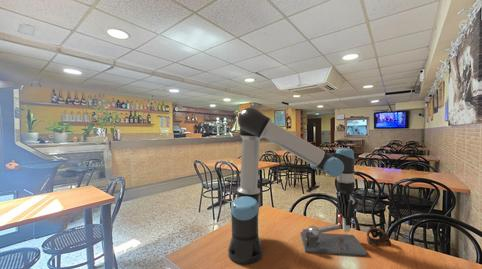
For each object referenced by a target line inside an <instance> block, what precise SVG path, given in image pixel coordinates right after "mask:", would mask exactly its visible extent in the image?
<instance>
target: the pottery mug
mask: <svg viewBox="0 0 482 269" xmlns="http://www.w3.org/2000/svg"><path fill="white" fill-rule="evenodd" d="M370 234H371V236H370ZM366 237H367V238H366V241H367V244H368V245H369V244H371V245H374V246H378V245H387V243H388V244H389V246H391V247H392V242H391V240H390V237H389V234H388V233H387V232H385V231H384V230H383V229H381V228H379V227H375V226H374V225H371V226H369V229H368V230H367V232H366Z"/></svg>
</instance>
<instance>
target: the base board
mask: <svg viewBox="0 0 482 269" xmlns="http://www.w3.org/2000/svg"><path fill="white" fill-rule="evenodd" d="M308 237H309V243H307V242H306V236H305V235H303V231H300V238H301V241H302V245H303V246H302V247H303V249H304V252H305V253H314V254H329V255H344V256H345V255H346V256H357V257H358V256H362V257H367V250H365V248H364V246H363V245H362V244H361V242H360V241H359V240H358V239H357V238H356V237H355V235H354V234H345V233H343V234H342V233H327V232H323V233H319V240H318V241H317V236H316V235H309V236H308Z"/></svg>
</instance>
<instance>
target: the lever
mask: <svg viewBox="0 0 482 269" xmlns="http://www.w3.org/2000/svg"><path fill="white" fill-rule="evenodd" d="M337 230H338V231H339V230H343V217H342V215H341V213H338V214H337V224H331V225H325V226H319V227H318V226H314V225H310V226H308V228H306V229H302V232H303V235H305V236H306V237H308V236H309V235H316V236H317V241H318V240H319V233H327V232H331V231H332V232H333V231H337Z"/></svg>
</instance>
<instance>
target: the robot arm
mask: <svg viewBox="0 0 482 269" xmlns="http://www.w3.org/2000/svg"><path fill="white" fill-rule="evenodd" d="M237 124H238V126H239V137H240V138H241V161H240V162H241V164H240V180H239V181H240V184H239V187H237V189H236V198H234V199H233V201H232V202H231V205H230V206H231V208H230V213H231V238H230V242H229V245H228V250H227V254H228V257H229V259H230V260H231V261H232V260H233V261H232V262H234V263H236V264H239V265H250V264H254V263H257V262H259V261H260V260H261V259H262V257H263V256H264V252H263V250H264V248H263V246H262V243H261V239H260V237H259V215H260V214H259V213H260V205H261V201H260V199H261V198H260V197H261V190H260V189H259V188H258V182H259V180H258V179H259V177H258V176H259V161H260V160H259V158H260V141H261V139H263V138H264V139H265V140H267V141H269V142H271V143H272V144H274V145H276V146H277V147H280V149H281V148H282V149H283V150H285V151H287V152H289V153H290V154H292V155H293V156H296V157H297V158H299V159H300V160H302V161H304V162H306V163H307V164H309V165H310V166H309V167H310V168H311V169H312V170H320V171H321V172H324V173H325V174H326V175H328V176H330V177H336V189H337V190H338V192H336V193H335V194H336V197H337V203H338V205H337V206H338V210H339V211H338V212H339V214H341V215H342V217H343V229H342V231H343V232H344V233H349V232H351V219H354V215H355V207H356V204H357V200H356V199H354V196H353V192H354V191H355V190H356V188H355V154H354V153H355V152H354V150H353V149H352V148H348V147H347V148H346V147H345V148H342V147H341V148H336V149H335V152H331V153H330V152H326V151H325V150H322V149H321V148H319V147H317V146H316V145H314V144H313V143H310V142H308V141H306V140H305V139H303V138H301V137H300V136H297V135H296V134H295V133H292V132H291V131H289V130H287V129H285V128H283V127H282V126H279V125H278V124H276V123H274V122H273V121H272V118H271V117H268V116H266V115H265V114H264V113H262V112H261V111H260V110H259V109H257V108H256V107H249V106H248V107H245V108H244V109H242V110H241V111H240V112H239V114H238V117H237Z"/></svg>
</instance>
